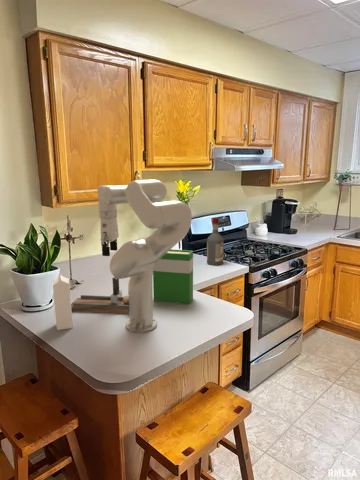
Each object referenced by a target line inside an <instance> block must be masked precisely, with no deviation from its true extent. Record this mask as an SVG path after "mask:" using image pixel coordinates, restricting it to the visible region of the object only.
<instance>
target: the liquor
mask: <svg viewBox="0 0 360 480" xmlns="http://www.w3.org/2000/svg"><path fill="white" fill-rule="evenodd" d="M219 221H220V220H219V217H212V232H211V234H210V235H208V237H207V239H206V263H207V265H209V266H213V267H214V266H217V267H218V266H221V265H223V263H224V243H225V242H224V241H225V240H224V238H223V236H222V235H221V234H220V233H219Z"/></svg>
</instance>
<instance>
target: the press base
mask: <svg viewBox="0 0 360 480" xmlns="http://www.w3.org/2000/svg"><path fill="white" fill-rule="evenodd" d="M123 297H124V296H122V300H123ZM71 310H72V311H73V312H75V311H76V312H94V313H114V314H115V313H117V314H129V304H128V305H125V304H124V303H123V301H121V303H120V304H119V305H116V304H111V295H110V296H109V295H87V294H81V295H80V297H77V298H76V299H75V300H74V301H73V302H71Z"/></svg>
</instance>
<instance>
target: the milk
mask: <svg viewBox="0 0 360 480" xmlns="http://www.w3.org/2000/svg"><path fill="white" fill-rule="evenodd" d="M70 286H71V285H70V279H69V278H68V277H65V276H63V275H62V273H60V276H58V277H57V278H56V279H54V280H53V284H52V289H53V301H54V314H55V324H56V325H55V326H56V330H57V331H61V330H67V329H69V330H70V329H73V314H72V313H73V312H72V310H71V304H72V300H71V289H70V288H71V287H70Z"/></svg>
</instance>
